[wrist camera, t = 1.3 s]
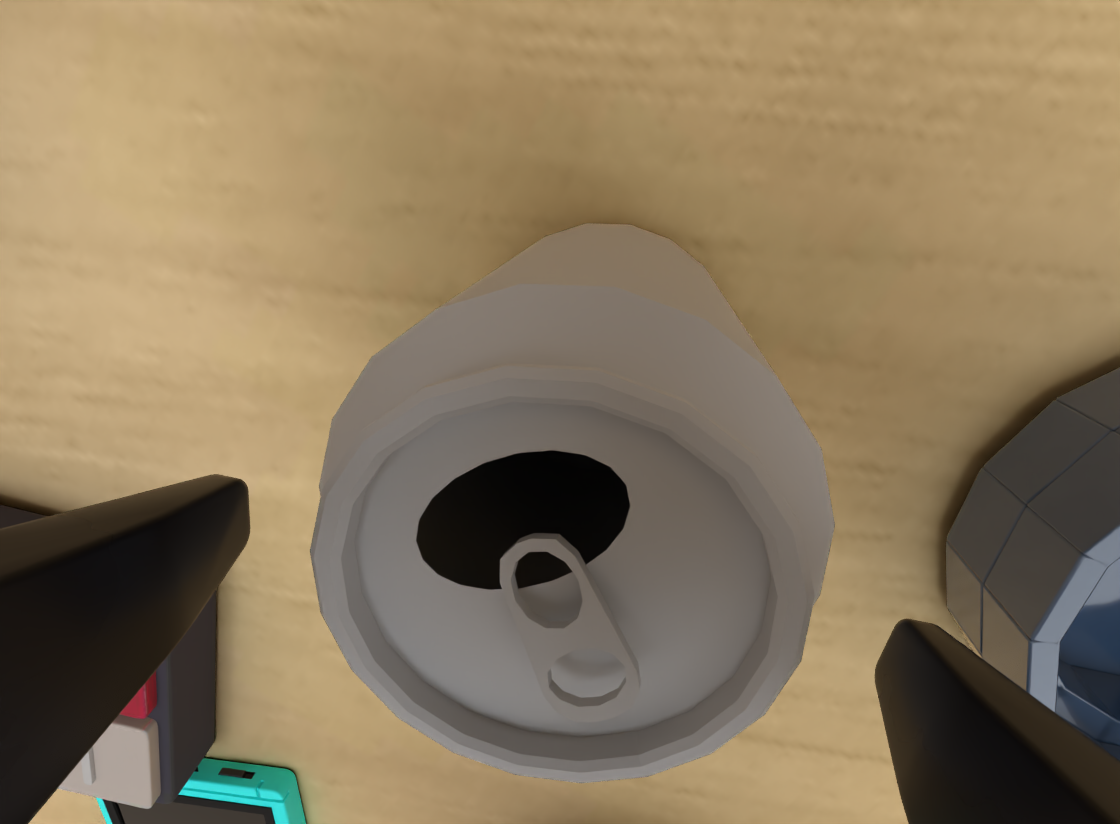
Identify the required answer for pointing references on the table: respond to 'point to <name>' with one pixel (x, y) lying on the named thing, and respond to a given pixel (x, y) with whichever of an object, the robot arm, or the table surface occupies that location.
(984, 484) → the bowl
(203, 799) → the handheld game console
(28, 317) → the table surface
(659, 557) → the can
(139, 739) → the red and grey device
